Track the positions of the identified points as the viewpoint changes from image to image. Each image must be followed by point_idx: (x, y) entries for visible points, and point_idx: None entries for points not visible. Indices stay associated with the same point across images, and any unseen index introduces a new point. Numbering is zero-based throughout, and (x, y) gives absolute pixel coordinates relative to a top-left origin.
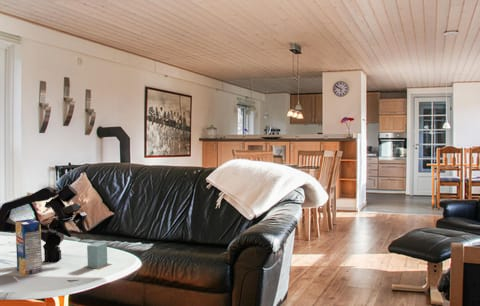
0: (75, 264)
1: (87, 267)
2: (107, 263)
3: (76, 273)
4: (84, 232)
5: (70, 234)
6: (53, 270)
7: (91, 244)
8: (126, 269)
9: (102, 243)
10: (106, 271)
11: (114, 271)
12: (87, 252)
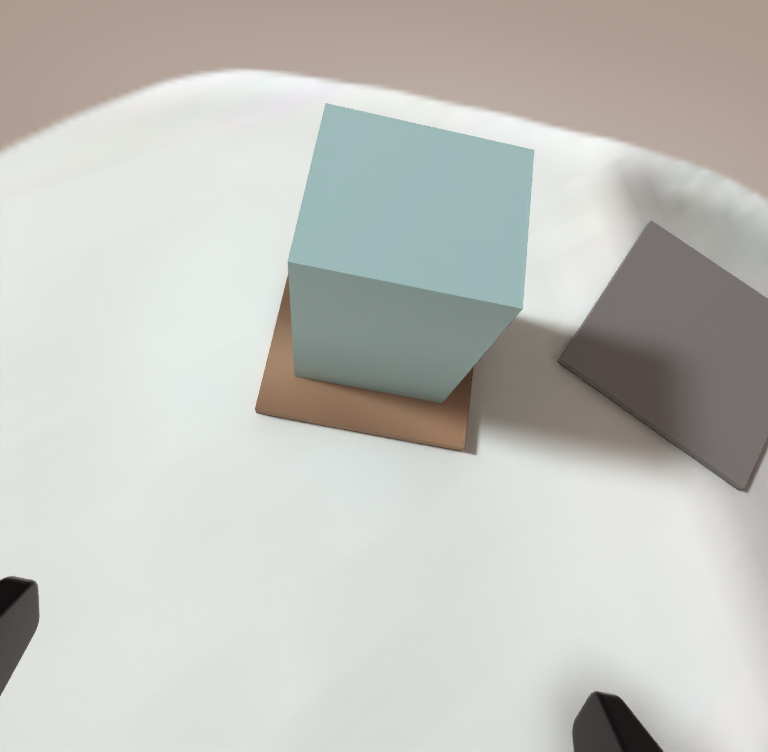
0: (341, 630)
1: (459, 395)
2: (288, 277)
3: (603, 422)
4: (23, 639)
5: (626, 724)
6: None
7: (445, 277)
8: (383, 92)
9: (348, 153)
10: None
11: None
12: (488, 347)
